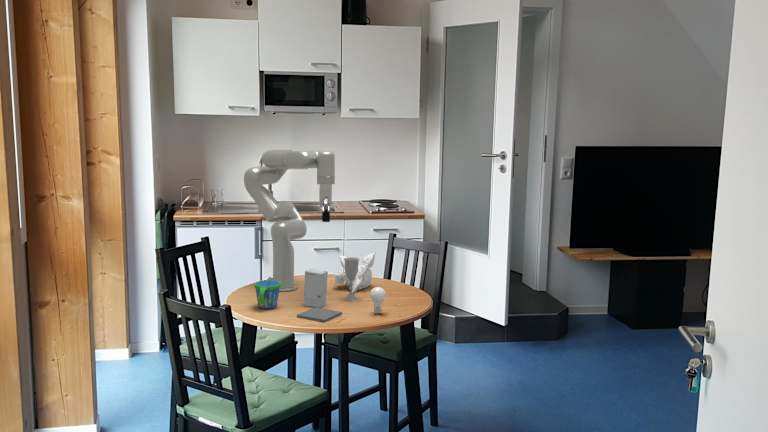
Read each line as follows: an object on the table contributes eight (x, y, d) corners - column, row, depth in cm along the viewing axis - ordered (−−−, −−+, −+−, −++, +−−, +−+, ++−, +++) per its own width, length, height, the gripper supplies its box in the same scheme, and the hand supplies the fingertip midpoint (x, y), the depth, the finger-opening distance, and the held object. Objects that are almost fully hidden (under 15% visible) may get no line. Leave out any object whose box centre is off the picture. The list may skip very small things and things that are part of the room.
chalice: (356, 302, 285) (357, 261, 283) (341, 301, 286) (341, 260, 284) (360, 298, 292) (361, 257, 290) (345, 296, 294) (346, 256, 291)
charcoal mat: (296, 317, 261) (296, 314, 261) (315, 309, 272) (315, 307, 272) (324, 322, 255) (324, 319, 255) (342, 314, 267) (342, 311, 266)
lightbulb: (373, 316, 265) (373, 289, 263) (367, 312, 270) (367, 285, 269) (387, 314, 267) (388, 288, 266) (381, 310, 273) (382, 284, 271)
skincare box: (303, 305, 278) (303, 271, 276) (309, 302, 283) (310, 268, 281) (320, 308, 275) (321, 273, 273) (327, 304, 280) (327, 270, 278)
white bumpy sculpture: (377, 263, 323) (374, 248, 305) (377, 302, 315) (374, 289, 297) (339, 263, 324) (334, 248, 306) (338, 303, 316) (332, 290, 298)
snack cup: (271, 313, 265) (271, 288, 264) (247, 311, 268) (247, 286, 267) (286, 303, 280) (286, 280, 279) (263, 301, 283) (263, 278, 282)
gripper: (317, 179, 291) (317, 217, 294) (316, 182, 274) (316, 223, 276) (334, 179, 292) (334, 217, 294) (334, 182, 275) (335, 223, 277)
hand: (326, 220), depth 285 cm, fingers open, 9 cm apart
